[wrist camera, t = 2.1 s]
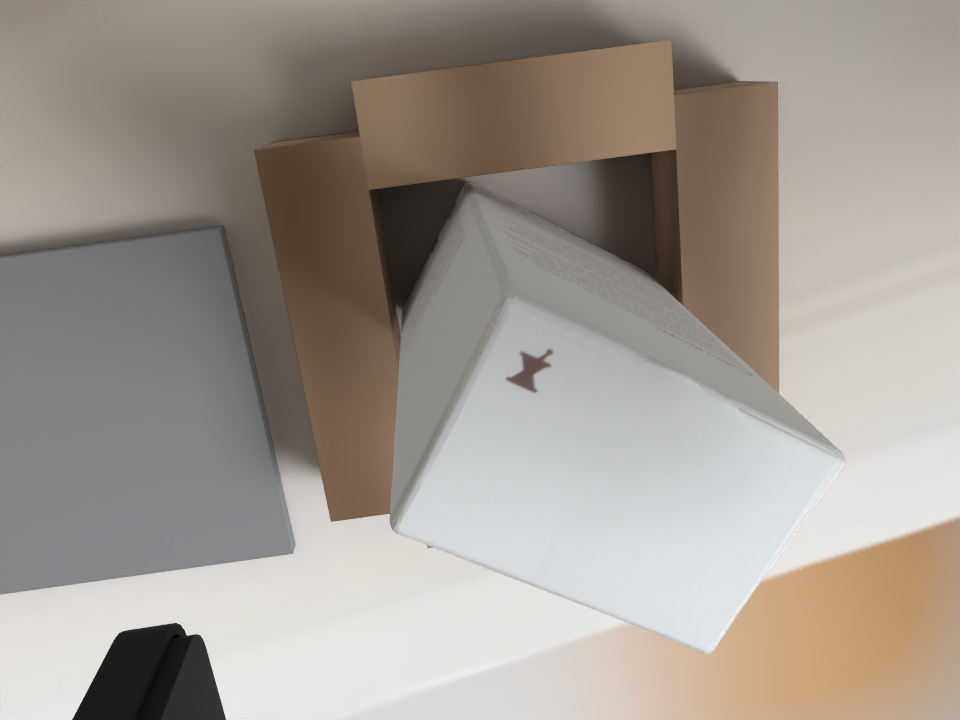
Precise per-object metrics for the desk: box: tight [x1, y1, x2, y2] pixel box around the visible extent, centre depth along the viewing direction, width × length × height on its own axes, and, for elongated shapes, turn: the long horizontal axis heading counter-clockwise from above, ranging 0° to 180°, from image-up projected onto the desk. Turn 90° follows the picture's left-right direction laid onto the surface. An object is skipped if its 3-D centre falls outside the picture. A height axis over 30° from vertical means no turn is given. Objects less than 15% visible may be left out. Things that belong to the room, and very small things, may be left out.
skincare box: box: [390, 182, 846, 654], centre depth 18 cm, size 6×4×12 cm
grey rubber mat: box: [0, 226, 295, 594], centre depth 24 cm, size 10×10×1 cm
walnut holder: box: [254, 40, 779, 548], centre depth 23 cm, size 12×12×2 cm
